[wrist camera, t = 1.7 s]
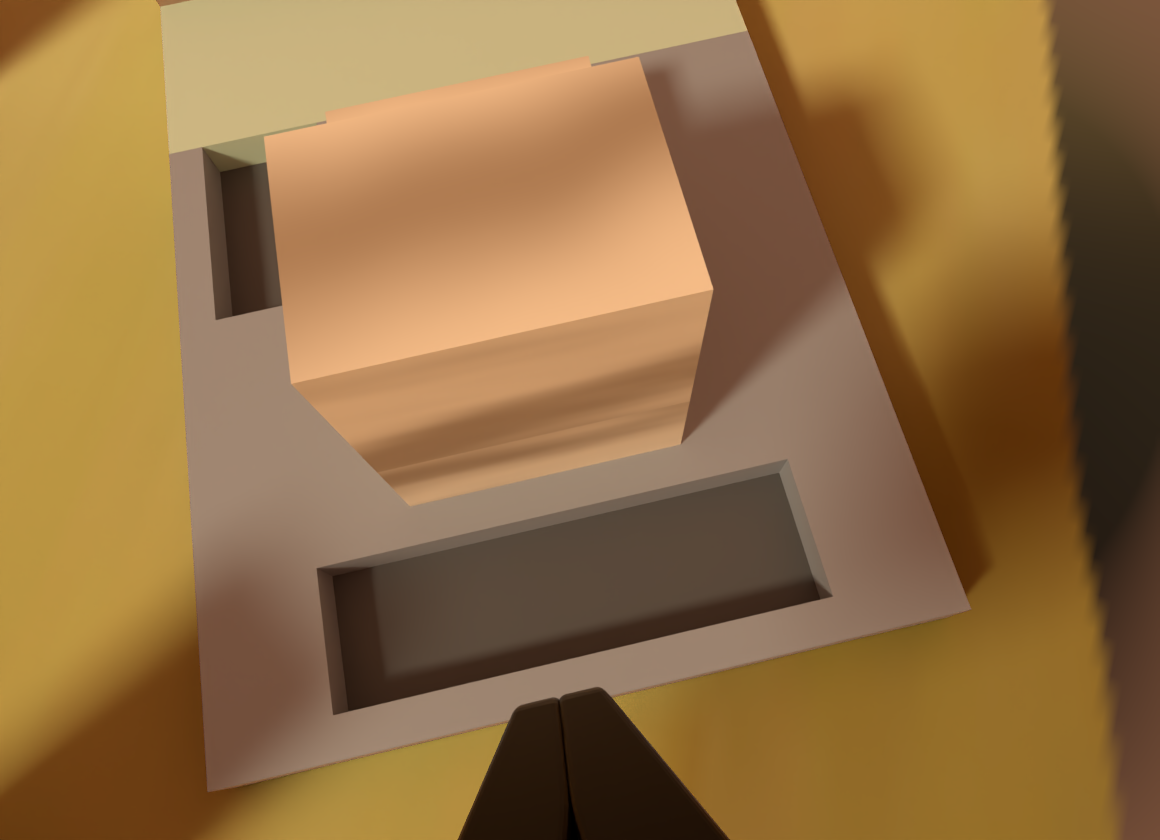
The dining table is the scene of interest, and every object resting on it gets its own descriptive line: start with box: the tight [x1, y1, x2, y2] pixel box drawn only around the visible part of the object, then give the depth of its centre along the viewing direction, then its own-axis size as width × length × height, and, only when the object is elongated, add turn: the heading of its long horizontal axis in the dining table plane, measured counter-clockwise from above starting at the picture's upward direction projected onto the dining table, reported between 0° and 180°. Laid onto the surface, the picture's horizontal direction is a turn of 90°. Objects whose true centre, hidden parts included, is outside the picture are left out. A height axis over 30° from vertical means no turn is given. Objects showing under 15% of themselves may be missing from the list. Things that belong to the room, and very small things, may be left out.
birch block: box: [264, 56, 713, 507], centre depth 19 cm, size 10×7×8 cm
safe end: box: [156, 0, 748, 172], centre depth 26 cm, size 7×18×4 cm, turn 103°
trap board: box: [169, 31, 971, 792], centre depth 23 cm, size 18×18×2 cm
